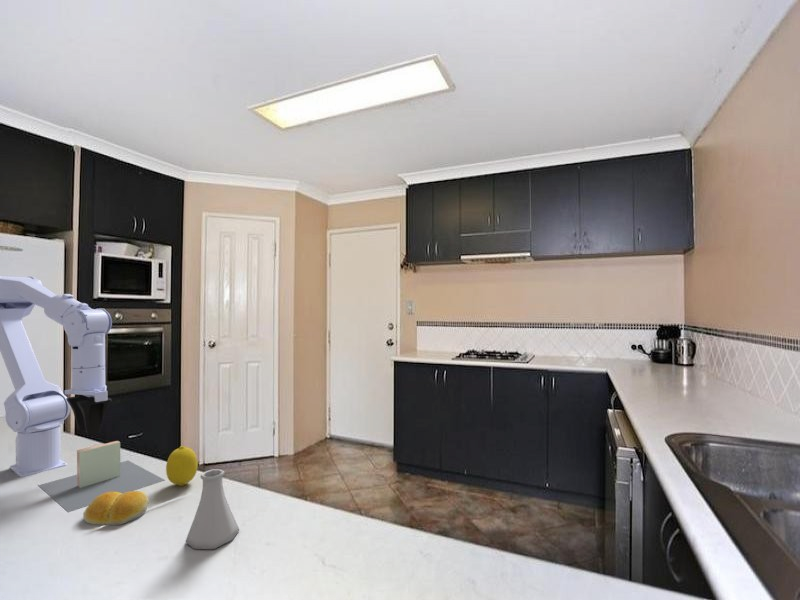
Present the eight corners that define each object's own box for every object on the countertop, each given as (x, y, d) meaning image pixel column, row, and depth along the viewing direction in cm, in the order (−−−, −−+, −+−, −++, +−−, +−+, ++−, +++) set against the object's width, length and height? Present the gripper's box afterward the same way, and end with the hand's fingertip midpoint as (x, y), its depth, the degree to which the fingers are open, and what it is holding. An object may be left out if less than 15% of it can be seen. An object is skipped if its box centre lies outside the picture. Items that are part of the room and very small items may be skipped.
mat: (38, 487, 84) (37, 485, 84) (128, 462, 97) (128, 460, 97) (68, 514, 73) (68, 512, 73) (165, 482, 86) (165, 480, 86)
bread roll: (136, 525, 70) (136, 501, 70) (76, 530, 68) (75, 506, 68) (156, 501, 78) (156, 480, 78) (103, 505, 77) (103, 483, 76)
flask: (248, 529, 68) (247, 467, 68) (214, 555, 61) (214, 486, 61) (211, 522, 70) (211, 461, 70) (175, 546, 63) (175, 479, 63)
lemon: (203, 481, 86) (203, 441, 86) (187, 493, 81) (186, 451, 81) (177, 480, 87) (177, 441, 87) (159, 492, 81) (159, 450, 81)
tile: (77, 485, 83) (77, 450, 83) (117, 474, 89) (117, 440, 89) (79, 487, 83) (79, 451, 83) (120, 475, 88) (120, 442, 88)
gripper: (54, 365, 90) (54, 429, 90) (77, 372, 82) (78, 443, 82) (93, 361, 96) (93, 422, 96) (119, 367, 87) (119, 433, 87)
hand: (89, 431), depth 89 cm, fingers open, 4 cm apart
